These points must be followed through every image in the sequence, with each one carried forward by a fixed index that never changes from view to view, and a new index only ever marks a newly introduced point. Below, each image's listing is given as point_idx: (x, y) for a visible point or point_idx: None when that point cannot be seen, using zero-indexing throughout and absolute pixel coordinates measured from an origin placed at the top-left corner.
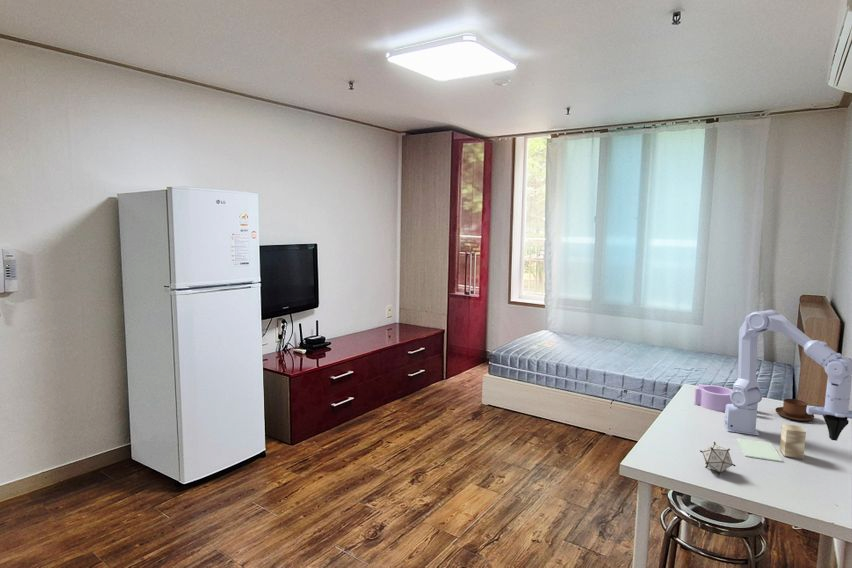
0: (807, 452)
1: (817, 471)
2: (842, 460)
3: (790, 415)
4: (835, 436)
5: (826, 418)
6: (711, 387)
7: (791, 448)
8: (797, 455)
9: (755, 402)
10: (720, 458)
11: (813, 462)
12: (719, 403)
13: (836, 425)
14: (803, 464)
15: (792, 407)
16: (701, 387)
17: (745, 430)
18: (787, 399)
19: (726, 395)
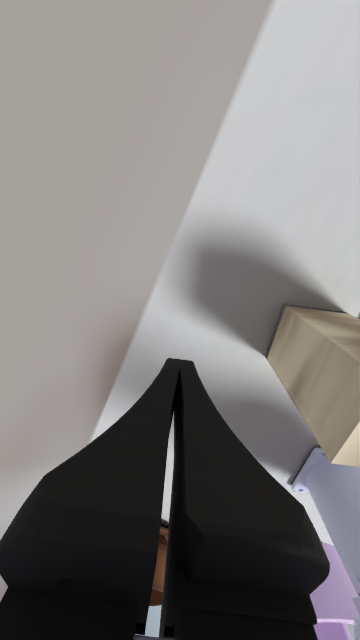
0: (229, 367)
1: (299, 193)
2: (141, 332)
3: (162, 540)
4: (179, 371)
5: (312, 581)
6: (322, 635)
7: (354, 326)
8: (310, 312)
9: None
10: None
11: (257, 289)
12: (330, 574)
13: (186, 449)
14: (313, 257)
15: (157, 573)
16: (349, 634)
17: None
18: (154, 602)
19: (328, 617)
